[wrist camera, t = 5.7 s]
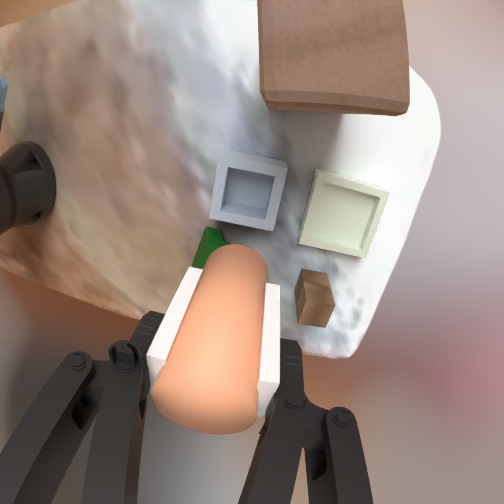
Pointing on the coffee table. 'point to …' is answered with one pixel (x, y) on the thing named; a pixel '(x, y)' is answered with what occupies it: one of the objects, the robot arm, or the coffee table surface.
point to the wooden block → (334, 56)
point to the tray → (341, 214)
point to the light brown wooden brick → (313, 298)
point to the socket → (248, 189)
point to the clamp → (208, 246)
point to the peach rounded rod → (217, 347)
